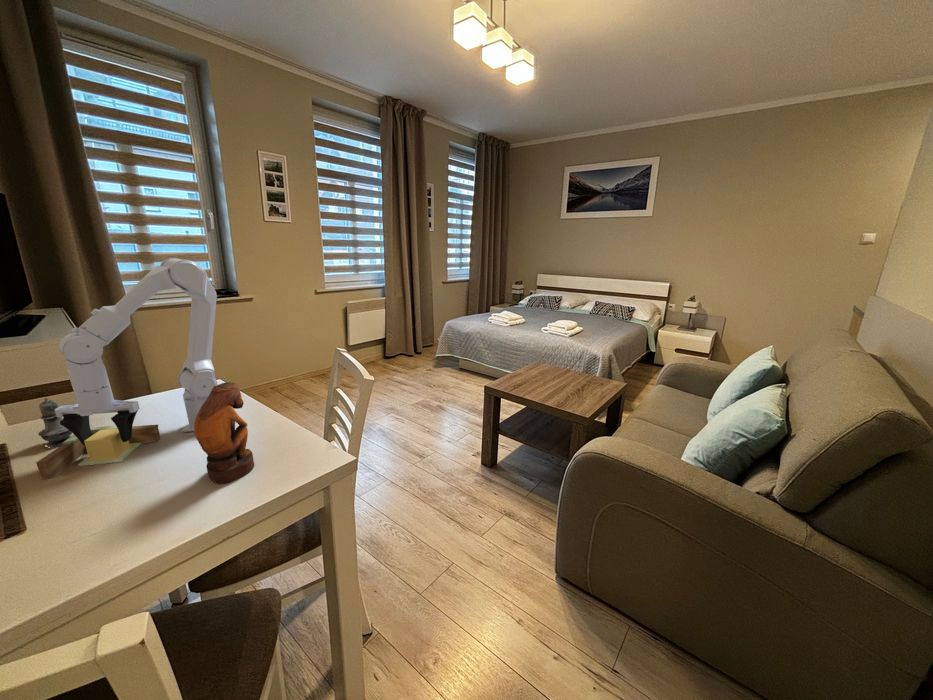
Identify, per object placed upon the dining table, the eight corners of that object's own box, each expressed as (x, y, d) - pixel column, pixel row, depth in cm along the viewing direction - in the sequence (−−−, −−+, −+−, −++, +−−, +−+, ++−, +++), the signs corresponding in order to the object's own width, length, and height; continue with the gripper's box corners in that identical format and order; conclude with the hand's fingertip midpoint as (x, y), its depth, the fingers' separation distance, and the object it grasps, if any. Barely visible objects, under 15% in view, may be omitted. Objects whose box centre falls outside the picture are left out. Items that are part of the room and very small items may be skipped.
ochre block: (130, 446, 89) (125, 428, 87) (116, 458, 84) (110, 439, 83) (105, 448, 88) (100, 429, 86) (90, 460, 83) (84, 441, 82)
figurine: (264, 463, 85) (251, 382, 79) (225, 488, 76) (208, 400, 70) (235, 455, 87) (221, 376, 81) (195, 478, 79) (176, 392, 73)
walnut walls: (160, 438, 93) (156, 422, 92) (126, 470, 80) (121, 453, 79) (89, 444, 90) (84, 427, 88) (42, 479, 77) (35, 460, 76)
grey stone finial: (54, 450, 87) (39, 404, 83) (36, 447, 88) (19, 401, 84) (84, 438, 92) (70, 394, 89) (66, 435, 94) (51, 391, 90)
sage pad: (141, 443, 91) (141, 442, 91) (120, 462, 83) (120, 460, 83) (102, 446, 89) (102, 445, 89) (78, 466, 82) (77, 464, 81)
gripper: (35, 396, 76) (55, 454, 80) (119, 392, 79) (134, 447, 83) (62, 383, 82) (79, 437, 86) (138, 380, 86) (151, 431, 90)
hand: (107, 441), depth 85 cm, fingers open, 7 cm apart
